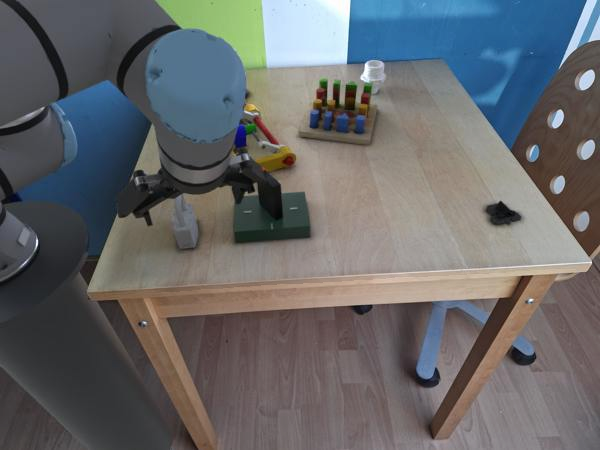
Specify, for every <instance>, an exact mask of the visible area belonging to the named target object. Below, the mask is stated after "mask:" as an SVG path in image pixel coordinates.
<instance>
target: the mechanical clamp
mask: <svg viewBox="0 0 600 450" xmlns="http://www.w3.org/2000/svg"><path fill="white" fill-rule="evenodd" d="M239 123H243V124H239V126H238V129H237V132H236V136H235V142H234V147H233V151H232V156H231V157H234V154H236V153H235V151H236V150H238V149H240V148H245V147H247V144H248V142H247V139H248V138H247V136H251V135H252V136H253V137H254V139H255V140H256V142H257V146H258V148H260V150H262V151H265V152H268V153H272V154H271V155H266V156H264V157H263V156H262V157H260V158H257V159H254V160H255V161H256V162H257V163H258V164H259V165H261V167H263V168H264V169H265V170H266V171H267V172H268V173H270V172H273V171H276V170H279V169H282V168H290V167H292V166H293V165H294V164H295V163H296V161H297V156H296V154H295V153H294V151H292V150H291V148H290V147H289V146H286V145H285V144H282V143H280V142H279V141H278V140H277V139H276V137H275V136H274V135H273V134H272V133H271V131H270V130H269V128H268V127H266V125H265V124H264V122H263V121H262V116H261V112H260V110H259V109H258V108H257V107H256V105H254V104H251V103H249V104H248V103H247V102H246V103H245V110H244V113H243V117H242V119H241V120H240V122H239ZM258 129H259V130H260V131H261V133H262V134H263V136H265V138H266V139H267V140H268V141H265V140H262V139H261V138H260V137H259V136H258V135H257V133H258Z"/></svg>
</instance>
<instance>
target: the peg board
mask: <svg viewBox="0 0 600 450" xmlns="http://www.w3.org/2000/svg"><path fill="white" fill-rule="evenodd" d="M328 83H329V79H328V78H326V77H321V78H319V79H318V88H316V90H315V97H313V98H312V99H311V102H310V105H309V107H308V109H307V112H306V114H305V115H304V118H303V121H302V123H301V125H300V127H299V130H298V136H299V137H300V138H308V139H315V140H324V141H330V142H340V143H347V144H356V145H362V146H369V145H370V143H371V139H372V133H373V130H374V125H375V121H376V115H377V111H378V105H377V104H376V103H375V104H374V103H371V98H372V94H371V92H372V85H373V83H367V82H365V81H364V84H363V90H362V93H361V95H360V102H357V91H358V84H357V83H356V82H355V81H354V80H350V81H348V82H347V83H345V89H344V90H345V91H344V100H340V99H341V79H339V78H336V79H334V81H333V82H332V99H329V98H328V87H329V85H328Z"/></svg>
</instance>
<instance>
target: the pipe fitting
mask: <svg viewBox="0 0 600 450" xmlns="http://www.w3.org/2000/svg"><path fill="white" fill-rule="evenodd" d="M386 79H387V74H386V73H385V63H384V62H383V61H381V60H377V59H370V60H367V61H366V62H365V63H364V71H363V73H362V74H361V75H360V80H361V81H363V82H364V83H365V82H367V83H373V85H372V92H371V95H375V94H377V93H378V91H379V84H383V83H384V82H385V80H386Z"/></svg>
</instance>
